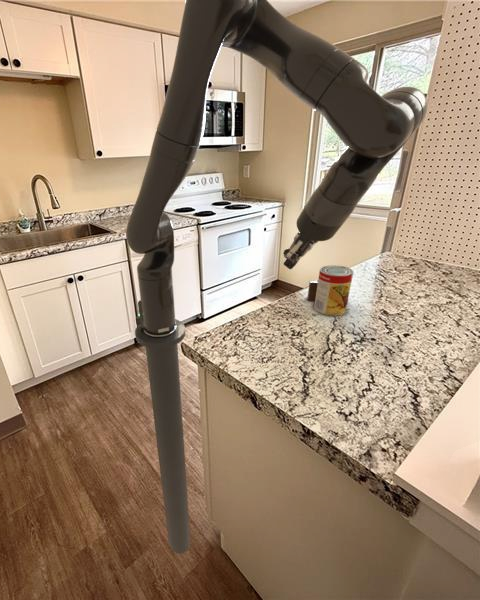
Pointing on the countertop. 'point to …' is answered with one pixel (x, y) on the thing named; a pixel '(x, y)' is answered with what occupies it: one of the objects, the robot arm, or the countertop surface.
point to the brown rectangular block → (312, 290)
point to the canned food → (333, 290)
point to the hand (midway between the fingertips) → (288, 265)
